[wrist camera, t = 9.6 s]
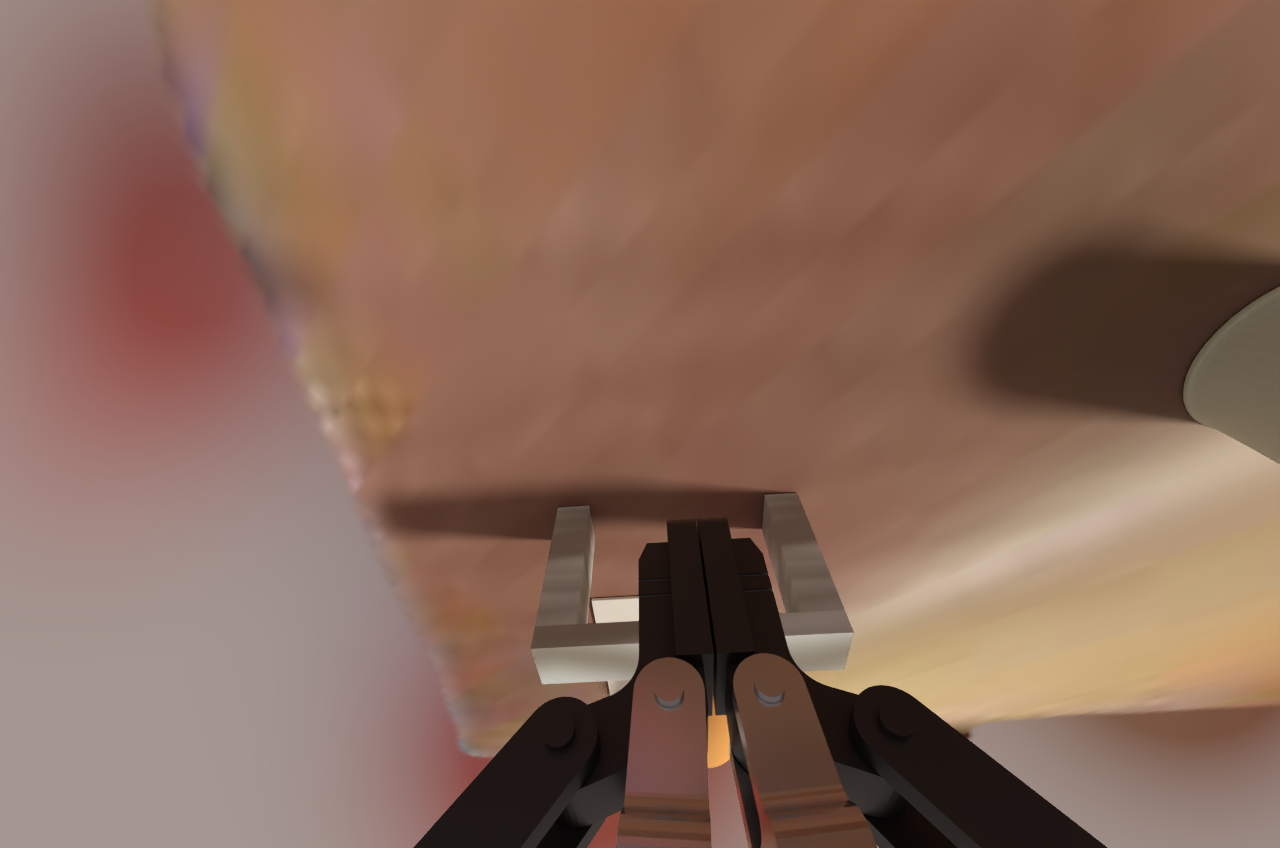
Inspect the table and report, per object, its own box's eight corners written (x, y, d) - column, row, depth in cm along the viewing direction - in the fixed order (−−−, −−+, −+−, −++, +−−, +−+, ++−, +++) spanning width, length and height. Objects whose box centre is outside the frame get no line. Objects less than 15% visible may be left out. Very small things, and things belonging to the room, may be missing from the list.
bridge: (557, 507, 32) (530, 649, 24) (797, 492, 31) (853, 632, 23) (565, 541, 33) (542, 684, 25) (792, 527, 33) (844, 669, 25)
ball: (666, 678, 45) (661, 690, 39) (734, 673, 44) (739, 685, 38) (672, 757, 43) (669, 781, 37) (743, 752, 42) (751, 777, 36)
